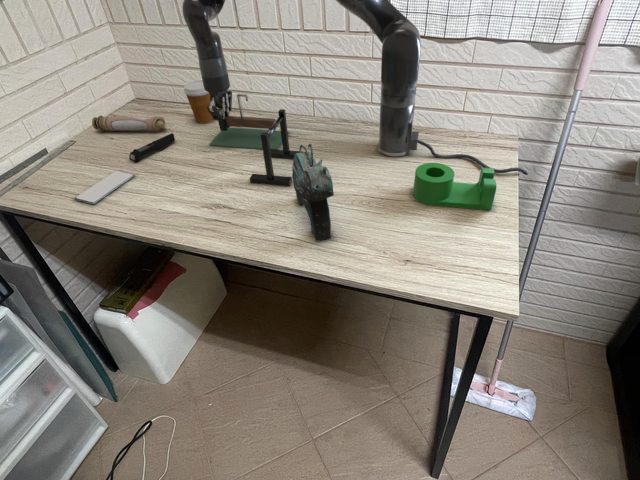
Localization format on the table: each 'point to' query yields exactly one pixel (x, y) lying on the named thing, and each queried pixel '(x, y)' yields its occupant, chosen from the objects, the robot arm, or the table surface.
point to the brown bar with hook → (248, 119)
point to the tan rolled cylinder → (128, 123)
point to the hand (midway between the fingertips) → (225, 128)
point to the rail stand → (275, 154)
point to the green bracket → (453, 188)
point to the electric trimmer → (151, 147)
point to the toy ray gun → (313, 191)
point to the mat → (246, 139)
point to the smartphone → (104, 187)
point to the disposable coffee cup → (198, 101)
